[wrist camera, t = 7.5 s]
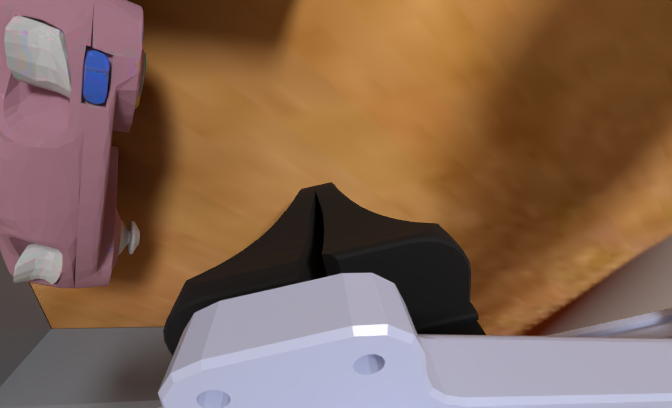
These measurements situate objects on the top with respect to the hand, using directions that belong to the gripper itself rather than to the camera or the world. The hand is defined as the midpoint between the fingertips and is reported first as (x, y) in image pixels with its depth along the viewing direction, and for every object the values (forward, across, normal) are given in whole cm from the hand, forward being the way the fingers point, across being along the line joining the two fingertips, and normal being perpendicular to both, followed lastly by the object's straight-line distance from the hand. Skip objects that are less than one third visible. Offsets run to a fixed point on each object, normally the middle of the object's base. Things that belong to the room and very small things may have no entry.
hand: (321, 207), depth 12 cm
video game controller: (+2, +8, -5) cm, 9 cm away
